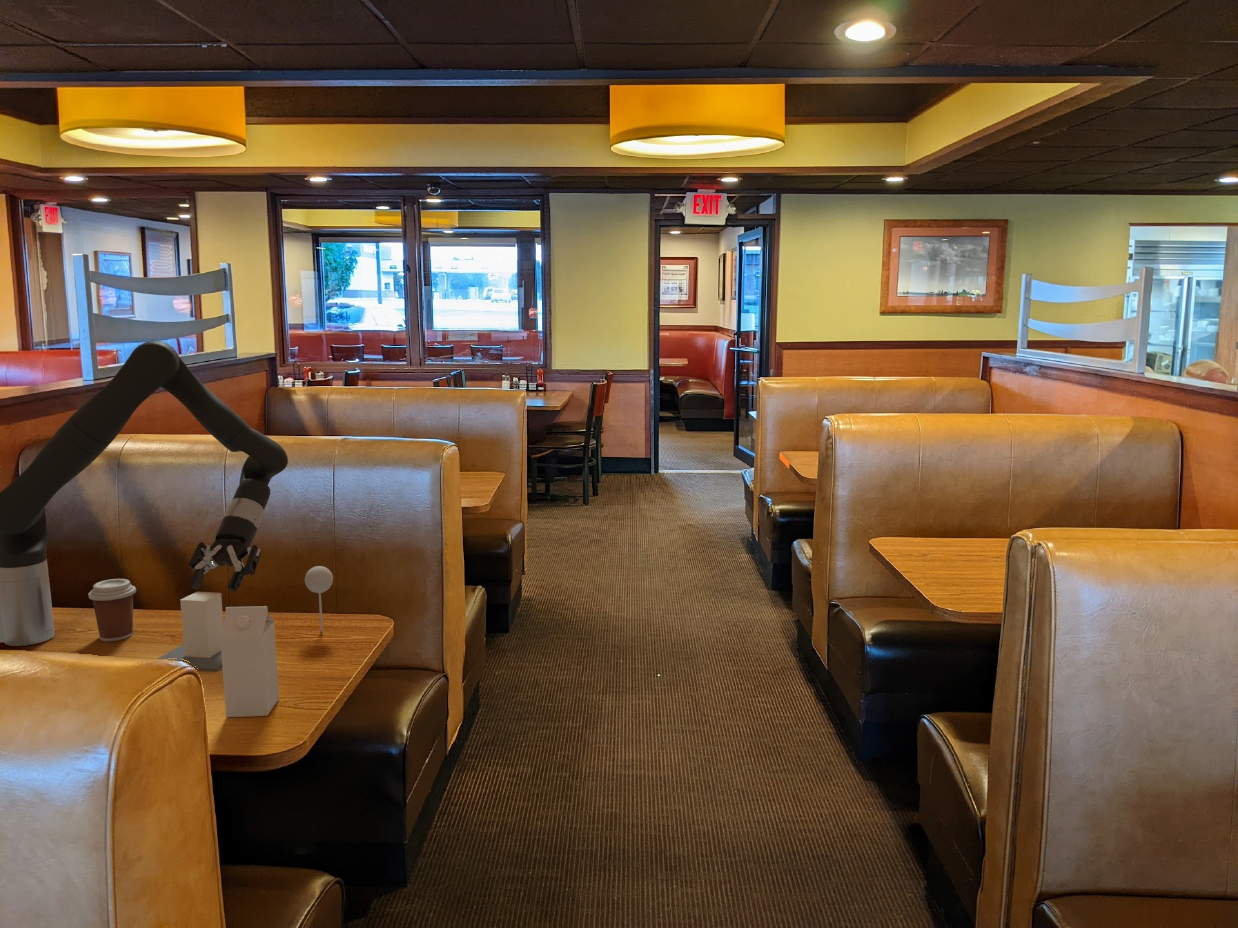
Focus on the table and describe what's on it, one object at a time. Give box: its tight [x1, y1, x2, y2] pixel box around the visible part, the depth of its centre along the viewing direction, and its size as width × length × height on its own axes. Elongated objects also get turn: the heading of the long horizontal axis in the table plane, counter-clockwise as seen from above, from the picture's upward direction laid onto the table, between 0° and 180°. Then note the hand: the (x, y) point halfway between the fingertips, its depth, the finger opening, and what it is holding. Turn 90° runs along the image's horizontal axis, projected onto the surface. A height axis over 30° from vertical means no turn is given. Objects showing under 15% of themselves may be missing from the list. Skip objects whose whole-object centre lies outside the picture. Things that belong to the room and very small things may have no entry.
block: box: [179, 591, 224, 658], centre depth 187 cm, size 6×6×12 cm
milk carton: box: [220, 605, 280, 718], centre depth 161 cm, size 7×7×19 cm
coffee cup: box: [87, 578, 137, 642], centre depth 198 cm, size 9×9×12 cm
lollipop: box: [304, 565, 334, 633], centre depth 200 cm, size 6×6×15 cm
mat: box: [157, 643, 223, 672], centre depth 188 cm, size 15×15×1 cm
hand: (212, 589), depth 189 cm, fingers open, 8 cm apart
